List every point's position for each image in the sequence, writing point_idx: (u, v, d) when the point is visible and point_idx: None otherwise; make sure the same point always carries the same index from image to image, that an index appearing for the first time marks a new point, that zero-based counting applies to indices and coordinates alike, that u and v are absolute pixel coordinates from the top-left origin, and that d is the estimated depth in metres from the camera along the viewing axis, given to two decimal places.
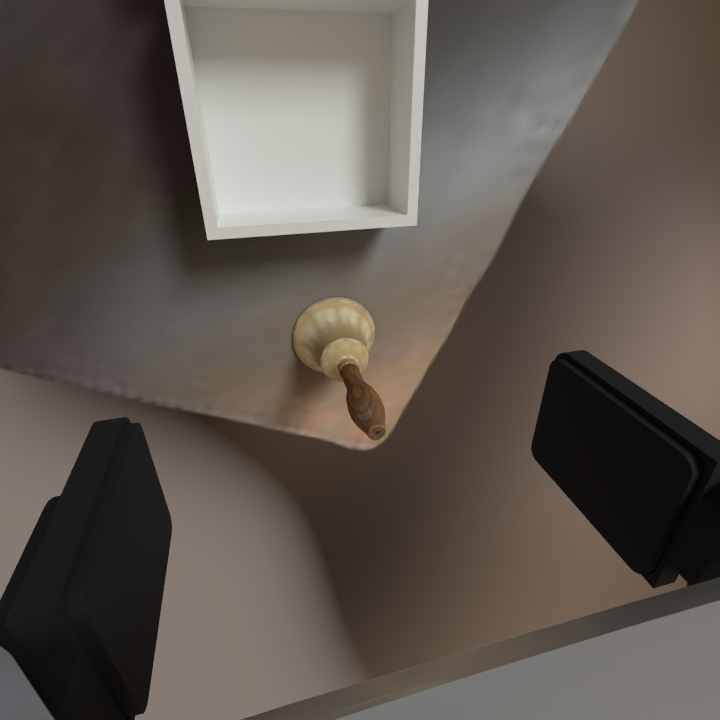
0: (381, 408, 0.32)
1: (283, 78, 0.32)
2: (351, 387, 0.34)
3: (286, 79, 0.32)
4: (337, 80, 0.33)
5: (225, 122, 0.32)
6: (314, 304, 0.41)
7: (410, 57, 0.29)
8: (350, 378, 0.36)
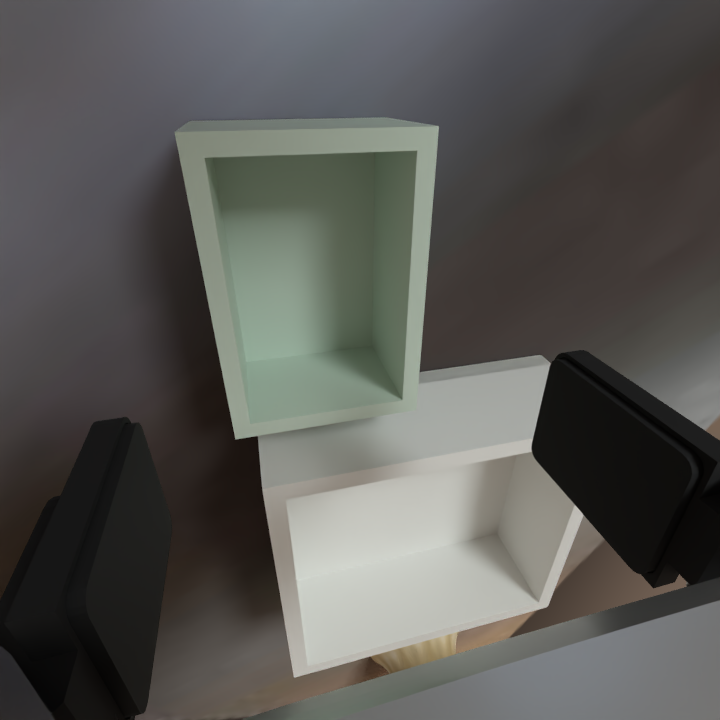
0: None
1: None
2: None
3: None
4: None
5: (313, 507, 0.25)
6: None
7: None
8: None
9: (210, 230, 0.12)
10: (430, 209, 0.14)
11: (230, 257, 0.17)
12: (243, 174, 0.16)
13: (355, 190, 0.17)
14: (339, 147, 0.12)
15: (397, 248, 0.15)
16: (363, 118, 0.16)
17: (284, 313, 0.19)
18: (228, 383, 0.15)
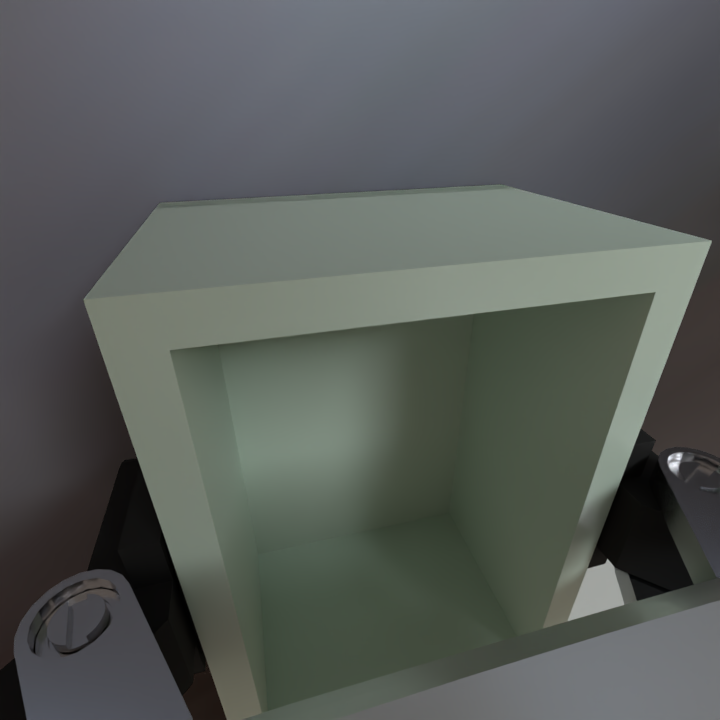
0: None
1: None
2: None
3: None
4: None
5: None
6: None
7: None
8: None
9: (188, 488, 0.05)
10: (650, 394, 0.07)
11: (233, 417, 0.10)
12: None
13: None
14: (495, 299, 0.05)
15: (541, 428, 0.08)
16: (468, 189, 0.09)
17: (320, 486, 0.12)
18: (230, 705, 0.08)
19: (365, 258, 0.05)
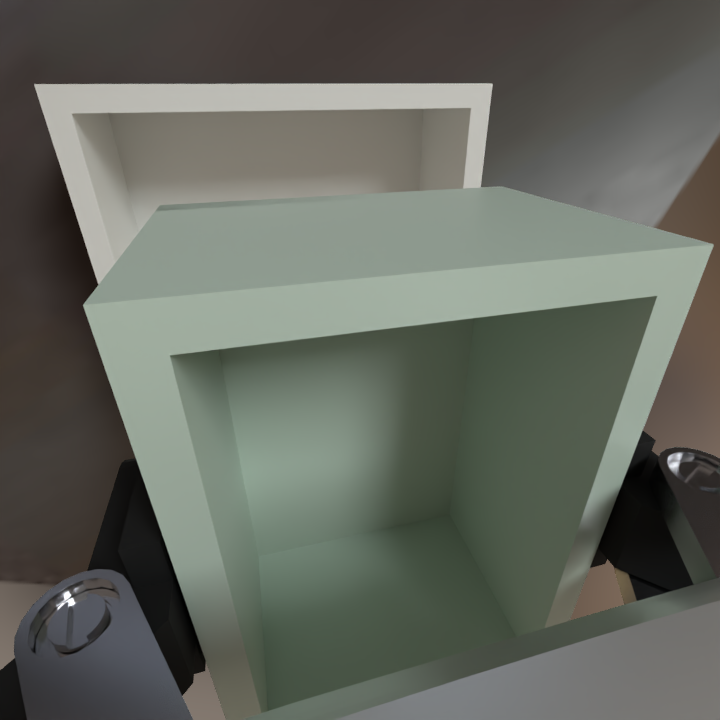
0: None
1: None
2: None
3: None
4: None
5: None
6: None
7: (457, 187, 0.19)
8: None
9: (189, 493, 0.05)
10: (651, 397, 0.06)
11: (234, 420, 0.10)
12: None
13: None
14: (496, 303, 0.05)
15: (542, 430, 0.08)
16: (468, 191, 0.09)
17: (320, 488, 0.12)
18: (231, 708, 0.08)
19: (366, 262, 0.05)
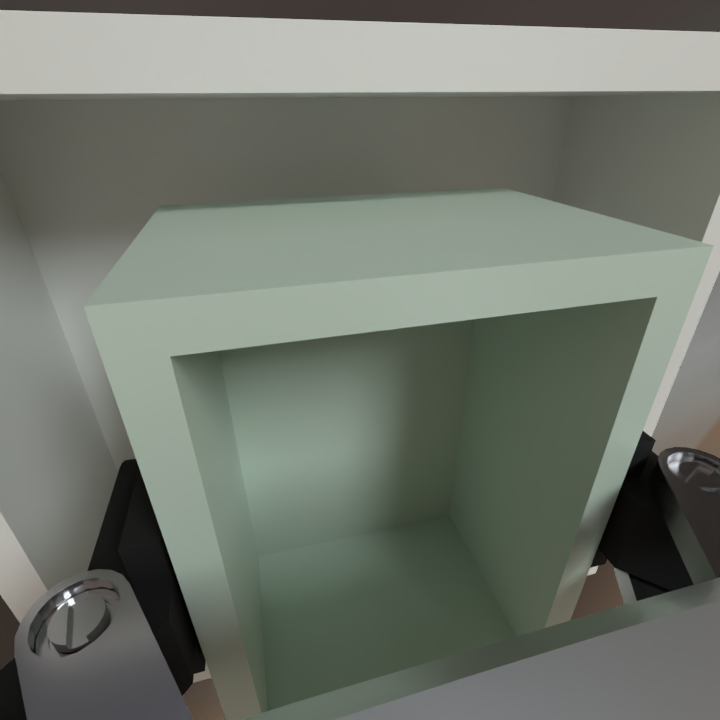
0: None
1: None
2: None
3: None
4: None
5: None
6: None
7: None
8: None
9: (189, 494, 0.05)
10: (651, 398, 0.06)
11: (234, 420, 0.10)
12: None
13: None
14: (497, 304, 0.05)
15: (542, 431, 0.08)
16: (468, 192, 0.09)
17: (320, 488, 0.12)
18: (231, 709, 0.08)
19: (366, 263, 0.05)
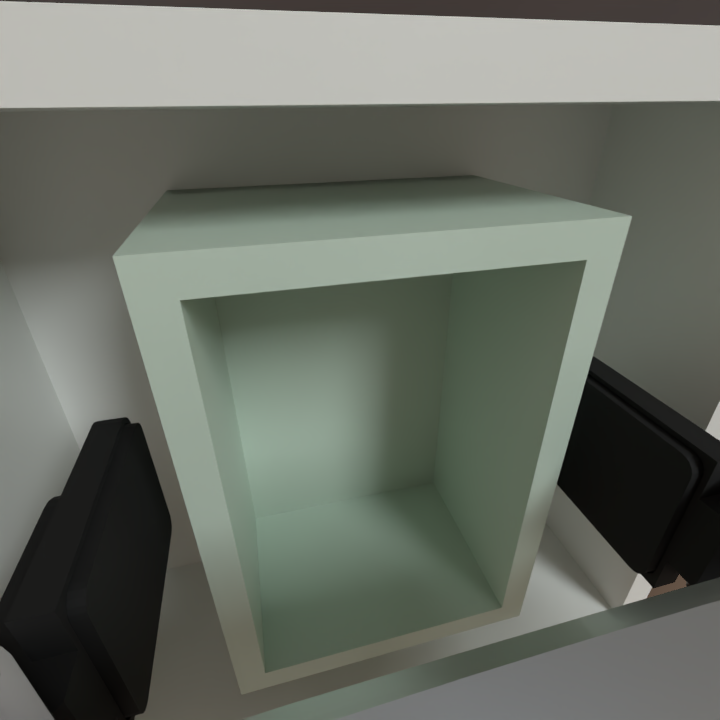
0: None
1: None
2: None
3: None
4: None
5: (130, 407, 0.11)
6: None
7: None
8: None
9: (194, 423, 0.06)
10: (591, 351, 0.08)
11: (233, 387, 0.11)
12: None
13: (423, 283, 0.11)
14: (448, 263, 0.06)
15: (506, 390, 0.09)
16: (442, 179, 0.10)
17: (312, 454, 0.13)
18: (230, 631, 0.09)
19: (340, 229, 0.06)
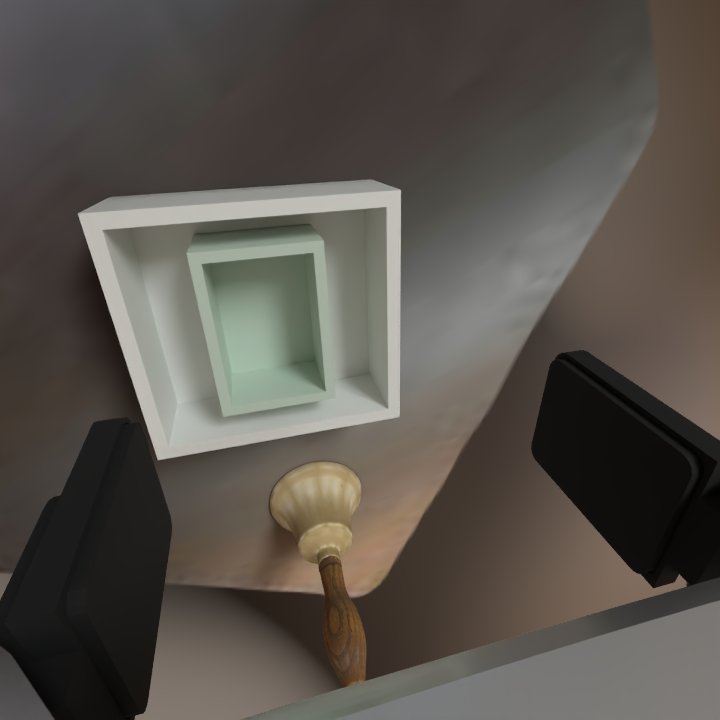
0: (361, 648, 0.27)
1: None
2: (328, 606, 0.30)
3: None
4: None
5: (179, 317, 0.28)
6: (292, 472, 0.37)
7: (384, 259, 0.25)
8: (329, 585, 0.31)
9: (205, 298, 0.23)
10: (325, 281, 0.25)
11: (219, 308, 0.28)
12: (225, 261, 0.27)
13: (293, 265, 0.28)
14: (270, 254, 0.23)
15: (314, 301, 0.26)
16: (295, 226, 0.27)
17: (255, 341, 0.30)
18: (217, 382, 0.26)
19: (242, 246, 0.23)
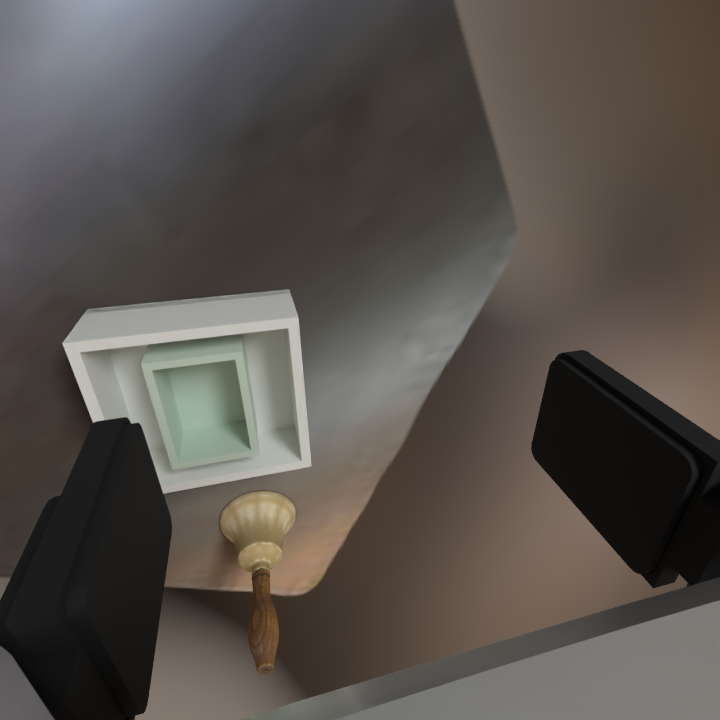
0: (273, 640, 0.37)
1: None
2: (253, 608, 0.39)
3: None
4: None
5: (141, 391, 0.37)
6: (237, 499, 0.47)
7: None
8: (257, 592, 0.41)
9: (155, 392, 0.32)
10: (245, 377, 0.34)
11: (172, 385, 0.37)
12: None
13: None
14: (203, 361, 0.32)
15: None
16: None
17: (201, 407, 0.39)
18: (167, 446, 0.35)
19: (182, 355, 0.32)
